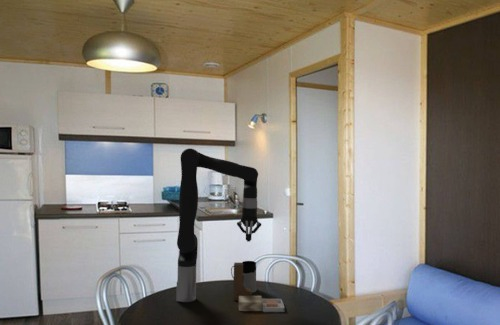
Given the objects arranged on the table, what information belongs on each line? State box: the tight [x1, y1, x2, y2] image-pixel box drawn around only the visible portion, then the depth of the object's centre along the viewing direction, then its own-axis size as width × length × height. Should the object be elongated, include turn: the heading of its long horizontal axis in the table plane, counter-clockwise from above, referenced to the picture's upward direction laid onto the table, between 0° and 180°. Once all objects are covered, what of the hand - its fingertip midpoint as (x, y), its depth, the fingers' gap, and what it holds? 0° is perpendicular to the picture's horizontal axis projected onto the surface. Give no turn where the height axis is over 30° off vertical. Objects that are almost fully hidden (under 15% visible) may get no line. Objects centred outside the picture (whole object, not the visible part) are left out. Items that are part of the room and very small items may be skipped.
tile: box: [266, 301, 278, 307], centre depth 183 cm, size 5×5×2 cm
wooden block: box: [232, 262, 253, 302], centre depth 193 cm, size 9×4×18 cm, turn 89°
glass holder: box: [230, 260, 257, 294], centre depth 207 cm, size 9×14×15 cm, turn 102°
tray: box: [262, 298, 286, 313], centre depth 183 cm, size 10×12×2 cm
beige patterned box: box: [238, 295, 263, 312], centre depth 182 cm, size 11×9×4 cm
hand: (248, 241), depth 193 cm, fingers closed
